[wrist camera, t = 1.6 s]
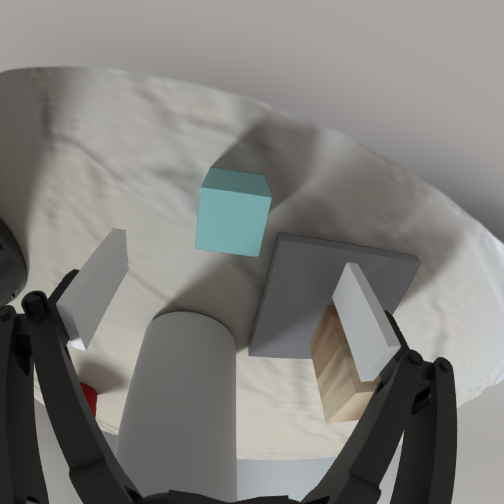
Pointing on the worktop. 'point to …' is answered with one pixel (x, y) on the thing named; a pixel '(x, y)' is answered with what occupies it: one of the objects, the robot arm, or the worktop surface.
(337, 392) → the beech block
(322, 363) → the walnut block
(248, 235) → the teal block
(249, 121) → the worktop surface
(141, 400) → the cylinder vase
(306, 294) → the slate board
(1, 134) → the worktop surface
